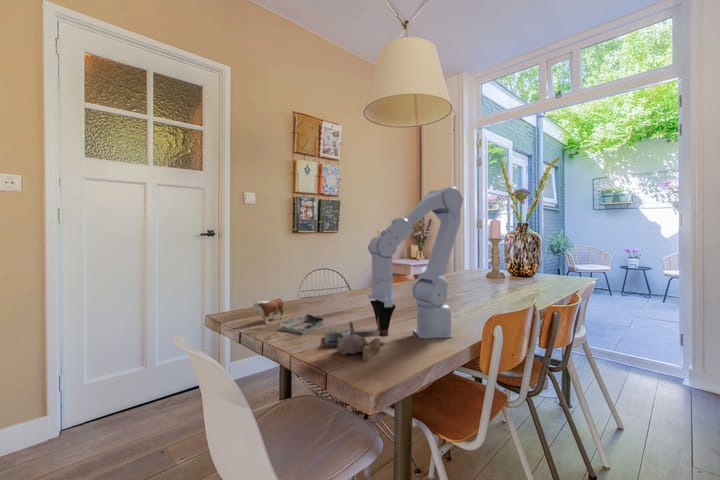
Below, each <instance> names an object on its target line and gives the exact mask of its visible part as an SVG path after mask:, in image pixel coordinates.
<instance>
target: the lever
mask: <svg viewBox="0 0 720 480" xmlns="http://www.w3.org/2000/svg"><path fill="white" fill-rule="evenodd" d="M377 325H378V326H377ZM376 326H377V328H367V329H365V328H364V329H354V332H355V334H357V335H359V336H362V337H365V338H368V337H369V338H370V337H371V338H372V337H375V338H376V337H382V338H384V337H389V329H388V330H380V327H379V320H378V317H377V323H376ZM327 333H328V336H329V341H338V338H342V337H343V336H345V335H349V334H350V328H344V329H339V330H337V329H329V330H328V332H327Z"/></svg>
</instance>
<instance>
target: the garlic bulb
mask: <svg viewBox="0 0 720 480" xmlns="http://www.w3.org/2000/svg"><path fill="white" fill-rule="evenodd" d="M348 325H349V329H350V334H349V335H345V336H343V337H342V338H341V339H340V340H339V341H338V344H337V347H336V348H337V349H338V352H339V354H341V355H343V356H345V355H346V356H347V354H349V355H350V354H351V355H355V354H358V353H363V347H365V346H366V345H367V344H368V343H367V340H366V338H365V339H364V338H363V337H362V336H359V335H357V334H355V332H354V330H355V329H354V324H353V321H352V320H350V321H349V322H348Z"/></svg>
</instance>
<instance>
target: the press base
mask: <svg viewBox="0 0 720 480" xmlns="http://www.w3.org/2000/svg"><path fill="white" fill-rule="evenodd" d="M363 338H364V339H365V340H366V337H363ZM340 339H341V338H338V341H339V340H340ZM338 341H329V336H328V332H324V348H338V347H337V344H338Z"/></svg>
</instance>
